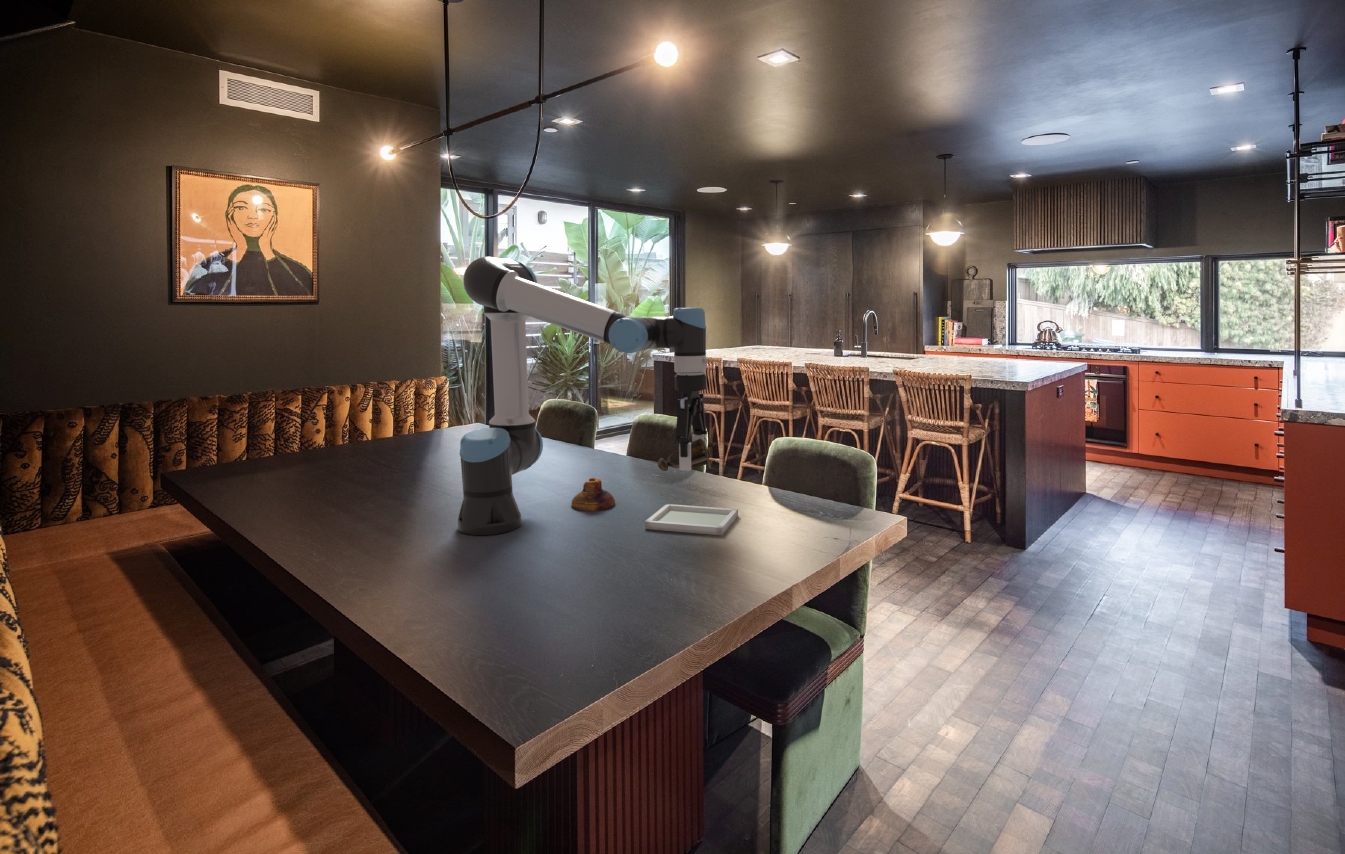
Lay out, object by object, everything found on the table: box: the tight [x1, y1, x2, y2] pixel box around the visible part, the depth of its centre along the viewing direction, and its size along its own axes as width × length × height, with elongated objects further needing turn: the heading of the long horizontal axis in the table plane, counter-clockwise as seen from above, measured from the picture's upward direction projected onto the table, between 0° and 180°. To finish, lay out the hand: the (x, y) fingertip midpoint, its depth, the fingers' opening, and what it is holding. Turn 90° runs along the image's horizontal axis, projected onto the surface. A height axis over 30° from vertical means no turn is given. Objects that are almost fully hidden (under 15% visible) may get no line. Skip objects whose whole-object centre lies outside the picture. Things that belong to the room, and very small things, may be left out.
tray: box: [644, 503, 739, 536], centre depth 174 cm, size 19×16×2 cm
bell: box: [571, 477, 616, 512], centre depth 192 cm, size 12×12×7 cm
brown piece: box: [657, 439, 712, 472], centre depth 172 cm, size 7×13×10 cm
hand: (692, 465), depth 172 cm, fingers closed on brown piece, 10 cm apart
